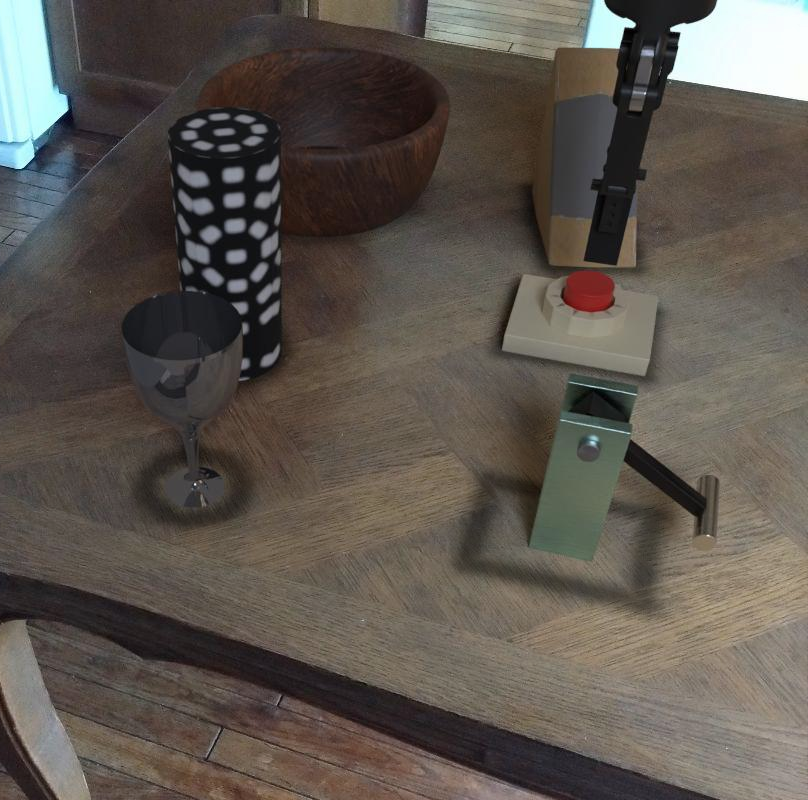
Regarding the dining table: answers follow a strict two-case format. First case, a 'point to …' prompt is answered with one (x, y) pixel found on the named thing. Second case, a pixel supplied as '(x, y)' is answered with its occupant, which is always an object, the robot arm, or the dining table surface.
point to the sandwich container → (577, 155)
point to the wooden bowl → (341, 132)
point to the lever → (666, 478)
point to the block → (581, 327)
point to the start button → (589, 291)
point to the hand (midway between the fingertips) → (600, 258)
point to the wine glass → (185, 374)
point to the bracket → (582, 470)
